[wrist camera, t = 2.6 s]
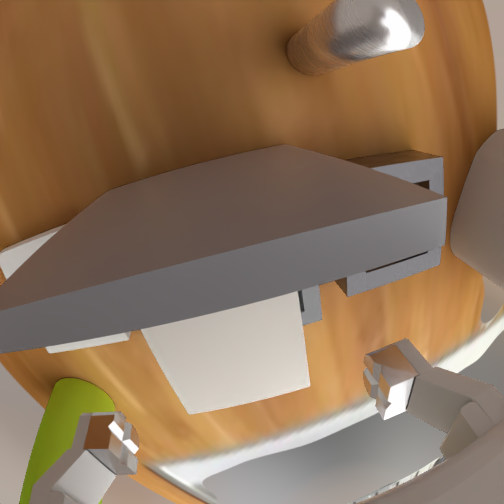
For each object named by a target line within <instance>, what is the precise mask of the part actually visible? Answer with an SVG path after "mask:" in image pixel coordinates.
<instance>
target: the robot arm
mask: <svg viewBox="0 0 504 504" xmlns="http://www.w3.org/2000/svg"><path fill="white" fill-rule="evenodd" d="M364 364H365V365H366V367H367V368H366V369H365V370H364V372H363V380H364V384H365V387H366V390H367V392H368V394H369V396H370V397H372V398H374V399H376V408H377V410H378V411H379V413H380V415H381V417H382V418H383V420H386V419H388V418H390V417H393V416H395V415H398V414H400V413H402V412H404V411H406V412H407V413H409V414H411V415H413V416H415V417H416V418H418V419H420V420H422V421H424V422H426V423H428V424H429V425H431V426H433V427H435V428H437V429H439V430H441V431H443V432H445V433H447V435H446V437H445V439H444V441H443V442H442V444H441V446H440V450H441V452H442V454H443V455H444V457H445V459H446V460H445V461H443V462H442V463H440V464H438V465H437V466H435V467H433V468H431V469H429V470H428V471H426V472H424V473H422V474H420V475H418V476H417V477H415V478H413V479H411V480H409V481H407V482H405V483H403V484H401V485H399V486H396V487H394V488H392V489H390V490H388V491H386V492H383V493H381V494H379V495H376V496H374V497H371V498H369V499H366V500H364V501H361V502H359V503H356V504H504V397H503V396H502V395H501V394H500V392H499V391H498V390H497V389H496V388H495V387H494V386H493V385H491V384H488V383H485V382H481V381H479V380H475V379H472V378H469V377H466V376H463V375H460V374H457V373H454V372H451V371H448V370H445V369H442V368H439V367H434V368H432V367H431V365H430V364H429V363H428V362H427V361H426V360H425V358H424V357H423V356H422V355H421V354H420V352H419V351H418V350H417V349H416V348H415V347H414V345H413V344H412V343H411V342H410V341H409V340H408V339H406V338H405V339H403V340H401V341H398V342H396V343H393V344H390V345H388V346H386V347H383V348H381V349H378V350H376V351H373V352H371V353H368V354H366V355H365V357H364ZM125 419H126V417H125V416H124V414H123V413H122V412H94V413H82V414H81V416H80V418H79V421H78V425H77V428H76V432H75V436H74V439H73V443H72V447H71V449H67V450H66V451H65V452H64V453H63V455H62V456H61V457H60V458H59V459H58V460H57V461H56V462H55V463H54V464H53V465H52V466H51V467H50V468H49V469H48V470H47V471H46V472H45V473H44V474H43V475H42V476H41V478H40V479H39V480H38V481H37V482H36V483H35V484H34V485H33V488H32V492H31V497H30V501H29V504H98V503H99V502H100V500H101V499H102V497H103V495H104V494H105V492H106V491H107V489H108V488H109V486H110V485H111V483H112V482H113V480H114V478H115V477H116V475H130V474H137V462H138V458H137V457H136V456H135V452H136V451H137V450H138V449H139V438H138V433H137V431H136V429H135V428H134V426H133V425H132V424H130V423H128V422H126V421H125Z"/></svg>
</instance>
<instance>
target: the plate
mask: <svg viewBox="0 0 504 504" xmlns="http://www.w3.org/2000/svg"><path fill="white" fill-rule="evenodd" d="M65 225H66V224H64V225H62V226H59V227H56V228H54V229H51V230H48V231H46V232H43V233H41V234H38V235H36V236H33V237H31V238H28V239H26V240H23V241H21V242H18V243H16V244H14V245H11V246H9V247H7V248H4V249H3V250H2V251H1V252H0V266H1V269H2V271H3V273H4V275H5V277H6V279H8V278H9V277H10V276H11V275H12V274H13V273H14V272H15V271H16V270H17V269H18V268H19V267H20V266H21V265H22V264H23V263H24V262H25V261H26V260H27V259H28V258H29V257H30V256H31V255H32V254H33V253H34V252H35V251H36V250H38V249H39V248H40V247H41V246H42V245H43V244H44V243H45V242H46V241H47V240H49V239H50V238H51V237H52V236H53V235H54V234H55V233H56V232H58V231H59V230H60V229H61V228H62V227H63V226H65ZM130 334H131V331H130V332H125V333H120V334H115V335H110V336H105V337H100V338H94V339H89V340H84V341H78V342H72V343H66V344H61V345H55V346H48V347H45V348H46V349H47V351H48V352H49V353H56V352H62V351H69V350H75V349H81V348H87V347H93V346H99V345H104V344H110V343H115V342H121V341H126V340H129V337H130Z"/></svg>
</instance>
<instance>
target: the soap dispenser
mask: <svg viewBox="0 0 504 504" xmlns="http://www.w3.org/2000/svg"><path fill="white" fill-rule="evenodd" d="M94 412H115V406H114V403H113V401H112V399H111V398H110V397H109V396H108V395H107V394H106V393H105V392H104V391H103V390H101V389H100V388H99V387H97V386H95V385H93V384H91V383H89V382H87V381H84V380H80V379H76V378H64V379H61V380H59V381H57V382H56V384H55V386H54V388H53V391H52V394H51V396H50V399H49V402H48V404H47V407H46V410H45V413H44V415H43V418H42V421H41V424H40V427H39V430H38V433H37V436H36V440H35V443H34V446H33V449H32V453H31V456H30V460H29V464H28V468H27V472H26V475H25V479H24V483H23V488H22V492H21V497H20V501H19V504H29V501H30V497H31V492H32V488H33V485H34V484H35V483H36V482H37V481H38V480H39V479H40V478H41V476H42V475H43V474H44V473H45V472H46V471H47V470H48V469H49V468H50V467H51V466H52V465H53V464H54V463H55V462H56V461H57V460H58V459H59V458H60V457H61V456H62V455H63V453H64V452H65V451H66V450H67V449H71V447H72V443H73V439H74V436H75V432H76V428H77V425H78V421H79V418H80V416H81V414H82V413H94ZM98 504H102V499H101V500H100V502H99V503H98Z"/></svg>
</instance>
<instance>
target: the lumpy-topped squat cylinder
mask: <svg viewBox="0 0 504 504" xmlns="http://www.w3.org/2000/svg"><path fill="white" fill-rule="evenodd" d="M450 245H451V250H452V252H453V254H454V255H455V256H456V257H458V258H459V259H460V260H462V261H463V262H465V263H466V264H468V265H469V266H471V267H472V268H474V269H475V270H476V271H478V272H479V273H481V274H482V275H483V276H485V277H486V278H488V279H489V280H491V281H492V282H493V283H494V284H496V285H497V286H499V287H500V288H502V289H503V290H504V129H500V130H497V131H496V132H494V133H493V134H492V135H491V136H490V137H489V138H488V139H487V140H486V141H485V142H484V143H483V145H482V146H481V147H480V148H479V150H478V151H477V153H476V155H475V157H474V160H473V162H472V165H471V167H470V170H469V173H468V175H467V178H466V181H465V184H464V187H463V189H462V192H461V195H460V199H459V202H458V205H457V208H456V211H455V214H454V218H453V221H452V226H451V232H450Z"/></svg>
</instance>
